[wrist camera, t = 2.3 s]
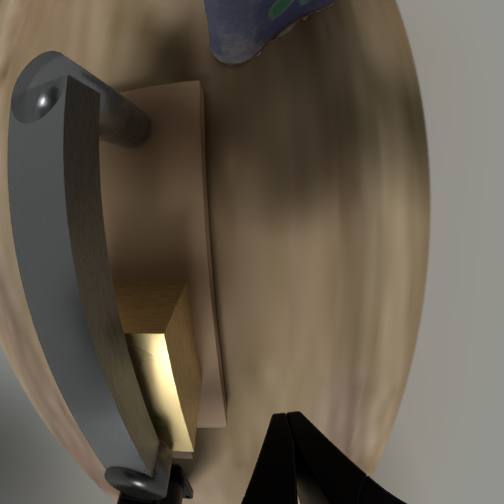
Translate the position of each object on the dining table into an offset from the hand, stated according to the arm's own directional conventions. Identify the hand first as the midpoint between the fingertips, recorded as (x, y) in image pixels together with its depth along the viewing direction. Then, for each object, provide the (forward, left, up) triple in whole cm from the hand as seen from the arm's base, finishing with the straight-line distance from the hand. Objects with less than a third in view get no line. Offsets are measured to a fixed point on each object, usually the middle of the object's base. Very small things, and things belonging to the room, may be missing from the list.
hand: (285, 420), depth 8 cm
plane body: (+2, +5, -8) cm, 10 cm away
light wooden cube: (0, +5, -6) cm, 8 cm away
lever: (+3, +6, -6) cm, 9 cm away
